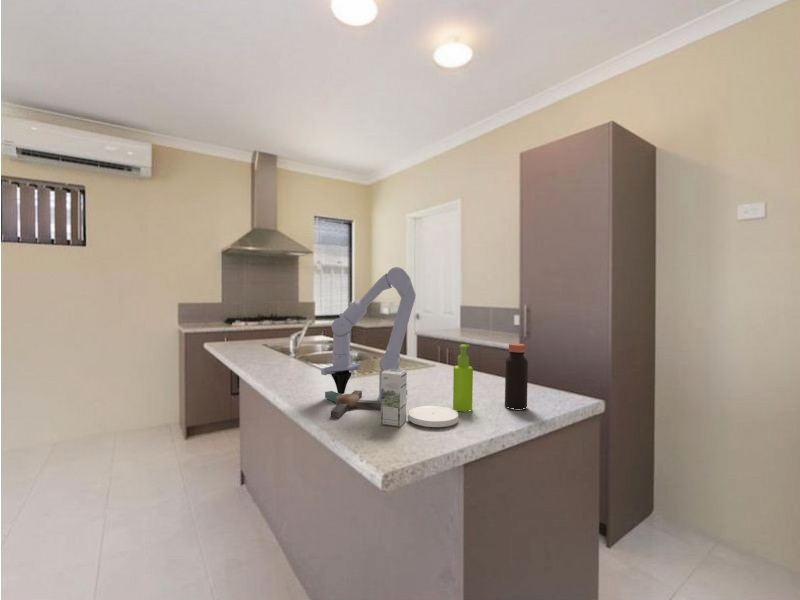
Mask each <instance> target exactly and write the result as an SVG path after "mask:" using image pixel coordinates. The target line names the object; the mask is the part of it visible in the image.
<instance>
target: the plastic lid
mask: <svg viewBox="0 0 800 600" xmlns="http://www.w3.org/2000/svg"><path fill="white" fill-rule="evenodd" d="M407 417H408V418H407V419H408V421H409V422H410V423H413V424H415V425H418V426H421V427H428V428H431V427H432V428H443V427H444V428H445V427H450V426H453V425H455V424H457V423H458V421H459V412H458V411H455V410H453V408H450V407H446V406H439V405H423V406H422V405H421V406H415V407H414V408H410V409H409V411H408V413H407Z"/></svg>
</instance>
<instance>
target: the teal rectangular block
mask: <svg viewBox="0 0 800 600" xmlns="http://www.w3.org/2000/svg"><path fill="white" fill-rule="evenodd" d="M338 395H342V394H339V393H338V392H336V391H334V390H328V391H324V398H325V399H327V400H329V401H331V402H334V403H336V397H337V396H338Z"/></svg>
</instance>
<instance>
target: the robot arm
mask: <svg viewBox="0 0 800 600" xmlns="http://www.w3.org/2000/svg"><path fill="white" fill-rule="evenodd" d="M392 288H394V289H395V290H396V292H397V293H398V295H399V296H400V301H399V305H398V309H397V312H396V315H395V319H394V323H393V326H392V330H391V334H390V336H389V341H388V344H387V346H386V349H385V353H384V354H383V356H382V357H381V358H380V361H379V368H380V370H379V371H378V372H379V373H378V374H379V375H378V376H379V377H378V378H379V379H378V381H379V382H378V384H379V386H378V387H379V388H378V389H379V391H378V396H377V400H376V401H381V373H382V372H383V371H384V370H386V369H395V370H401V369H400V368H399V366H400V364H401V356H400V355H401V354H400V353H401V350H402V346H403V342H404V340H405V335H406V331H407V328H408V325H409V323H410V317H411V314H412V312H413V307H414V303H415V301H416V297H417V296H416V291H415V288H414V286H413V283H412V280H411V277H410V276H409V275H408V273H407V272H406V271H405V270H404V269H403V268H402V267H399V266H394V267H392V268H390V269H389V270H388V272H387V273H385V274H383V275H382V276H381V277H380V278H379V279H378V280H377V281H376V282H375V283H374V284H373V285H372V287H371V288H370V289H369V290H368V291H367V292H366V293H365V294H364V296H362V298H361V299H360V300H353V302H350V303H348V307H347V308H346V309H345V310H344V311H343V312H342V313H339V315H338V318H335V319H334V320H333V322H332V324H331V331H332V333H333V335H332V336H333V338H332V365H331V366H328V367H327V366H326V367H323V368H321V369H320V374H321V375H322V376H327V375H331V377H332V379H333V381H334V384H335V387H336V390H337V392H336V393H339V394H341V395H342V394H345V393H346V388H347V384H348V383H349V380H350V378H351V377H352V371H360V370H361V364H360V363H351V340H350V339H351V338H350V336H351V334H350V333H351V331H352V328H353V326H355V325H356V324H357V323H358V322H360V320H361V319H362V318H363V317H364V316H365V315H366V314H367V313H368V311H367V309H368V307H369V305H370V304H372V303H373V302H374V301H375V299H376V298H378V297H379V295H380V294H381V293H382V292H383V291H385V290H389V289H392ZM407 386H408V384H407V385H406V396H408V389H407Z"/></svg>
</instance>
